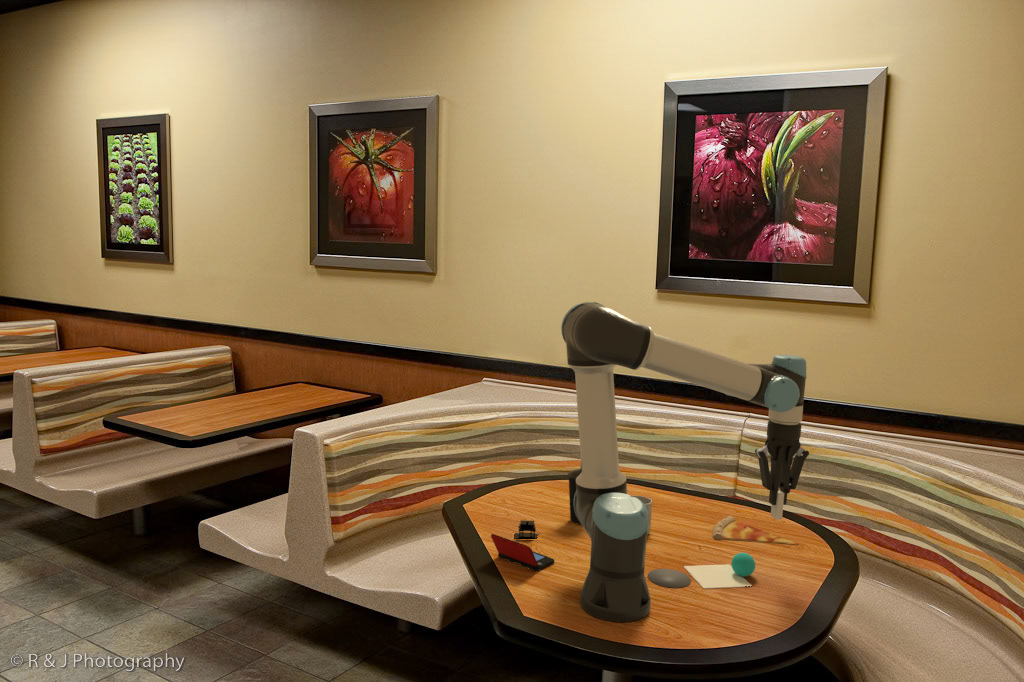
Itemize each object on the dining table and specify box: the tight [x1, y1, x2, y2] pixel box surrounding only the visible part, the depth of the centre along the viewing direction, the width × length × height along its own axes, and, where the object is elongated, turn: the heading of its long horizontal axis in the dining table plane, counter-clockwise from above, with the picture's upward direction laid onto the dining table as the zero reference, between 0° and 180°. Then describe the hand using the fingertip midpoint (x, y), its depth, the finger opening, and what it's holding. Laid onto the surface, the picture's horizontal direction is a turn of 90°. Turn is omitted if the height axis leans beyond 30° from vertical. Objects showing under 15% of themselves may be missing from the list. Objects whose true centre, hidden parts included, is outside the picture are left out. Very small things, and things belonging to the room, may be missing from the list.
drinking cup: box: [567, 467, 582, 525], centre depth 217 cm, size 8×8×20 cm
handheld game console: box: [490, 533, 555, 572], centre depth 189 cm, size 12×11×7 cm
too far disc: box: [647, 568, 692, 589], centre depth 183 cm, size 10×10×1 cm
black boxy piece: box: [514, 519, 540, 539], centre depth 205 cm, size 12×7×5 cm, turn 90°
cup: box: [631, 495, 653, 535], centre depth 210 cm, size 7×10×9 cm
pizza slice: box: [712, 515, 796, 544], centre depth 210 cm, size 16×22×2 cm
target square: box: [683, 563, 753, 590], centre depth 185 cm, size 12×12×1 cm
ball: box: [730, 552, 756, 578], centre depth 186 cm, size 6×6×6 cm
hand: (776, 517), depth 186 cm, fingers closed
